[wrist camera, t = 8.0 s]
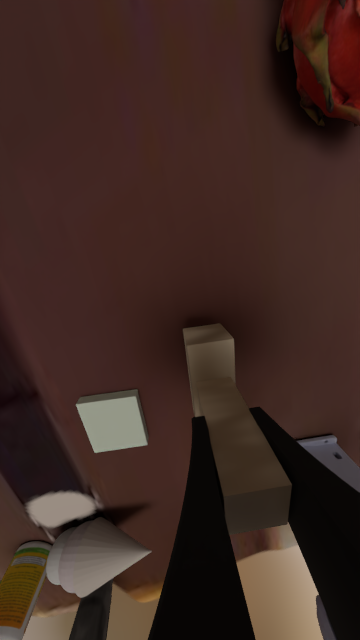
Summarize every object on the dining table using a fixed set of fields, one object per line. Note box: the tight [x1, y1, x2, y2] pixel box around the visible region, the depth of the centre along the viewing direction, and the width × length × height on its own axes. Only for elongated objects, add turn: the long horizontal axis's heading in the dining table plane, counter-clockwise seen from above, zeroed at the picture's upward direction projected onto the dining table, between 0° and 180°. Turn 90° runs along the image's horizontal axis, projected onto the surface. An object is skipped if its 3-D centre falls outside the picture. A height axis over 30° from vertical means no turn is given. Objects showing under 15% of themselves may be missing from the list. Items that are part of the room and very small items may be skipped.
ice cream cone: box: [46, 517, 152, 598], centre depth 22 cm, size 6×6×15 cm
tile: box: [76, 389, 148, 453], centre depth 19 cm, size 2×7×6 cm
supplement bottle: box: [0, 541, 52, 640], centre depth 22 cm, size 5×5×10 cm
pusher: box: [183, 323, 292, 535], centre depth 11 cm, size 3×8×9 cm, turn 7°
